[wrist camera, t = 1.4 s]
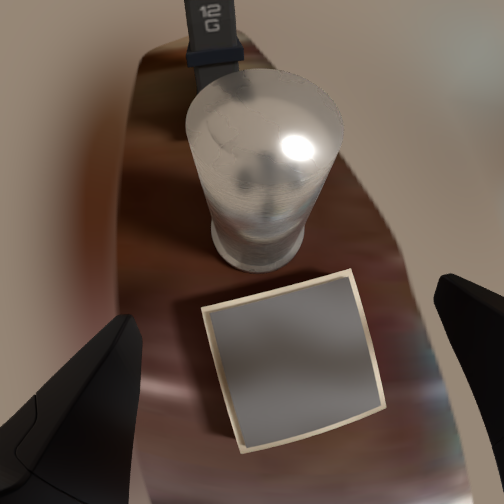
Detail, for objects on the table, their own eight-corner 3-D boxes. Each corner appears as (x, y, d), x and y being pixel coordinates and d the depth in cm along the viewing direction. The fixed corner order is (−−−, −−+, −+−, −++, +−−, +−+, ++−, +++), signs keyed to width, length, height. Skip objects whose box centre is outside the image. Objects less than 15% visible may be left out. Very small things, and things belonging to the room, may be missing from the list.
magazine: (203, 165, 22) (174, -28, 11) (203, 107, 31) (187, -14, 19) (252, 159, 22) (237, -36, 11) (236, 103, 31) (225, -19, 19)
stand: (371, 400, 19) (388, 408, 16) (241, 440, 18) (240, 456, 15) (339, 276, 21) (352, 267, 18) (206, 310, 21) (199, 306, 18)
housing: (313, 261, 22) (382, 175, 10) (223, 284, 21) (189, 216, 9) (287, 181, 23) (315, 58, 11) (204, 200, 23) (168, 80, 11)
